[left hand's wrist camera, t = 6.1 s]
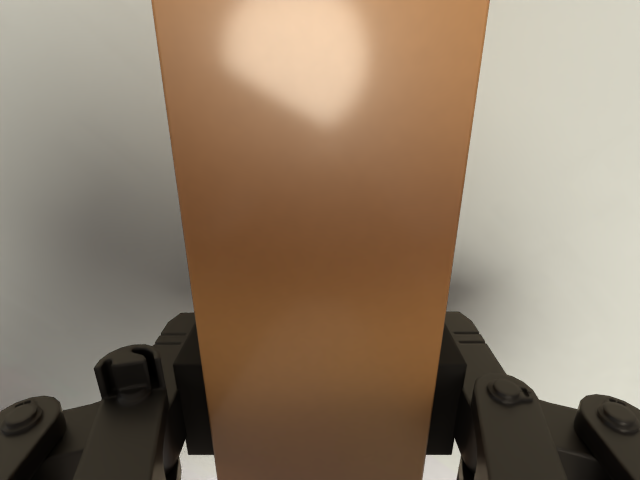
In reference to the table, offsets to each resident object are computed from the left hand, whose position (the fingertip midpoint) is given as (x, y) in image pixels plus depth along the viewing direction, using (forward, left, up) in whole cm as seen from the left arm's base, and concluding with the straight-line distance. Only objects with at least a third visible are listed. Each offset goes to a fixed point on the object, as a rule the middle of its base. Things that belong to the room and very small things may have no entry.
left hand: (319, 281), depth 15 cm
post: (-3, +31, -1) cm, 31 cm away
